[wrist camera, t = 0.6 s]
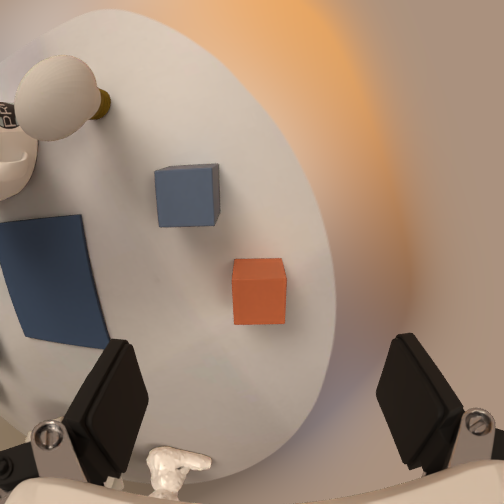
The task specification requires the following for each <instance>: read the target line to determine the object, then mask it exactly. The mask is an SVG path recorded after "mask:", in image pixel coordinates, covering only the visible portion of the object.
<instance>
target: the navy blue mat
mask: <svg viewBox="0 0 504 504" xmlns="http://www.w3.org/2000/svg"><path fill="white" fill-rule="evenodd" d="M0 264H1V268H2V271H3V275H4V278H5V282H6V285H7V288H8V291H9V294H10V297H11V300H12V303H13V306H14V309H15V311H16V314H17V317H18V319H19V322H20V324H21V327H22V329H23V332H24V334H25V336H26V337H30V338H35V339H41V340H46V341H51V342H57V343H63V344H69V345H76V346H83V347H90V348H98V349H105V348H106V346H107V345H108V343H109V341H110V338H109V335H108V332H107V328H106V325H105V322H104V318H103V315H102V311H101V307H100V304H99V300H98V296H97V292H96V288H95V284H94V279H93V275H92V271H91V266H90V261H89V256H88V251H87V246H86V240H85V235H84V229H83V222H82V216H81V215H69V216H58V217H48V218H38V219H29V220H20V221H12V222H4V223H0Z"/></svg>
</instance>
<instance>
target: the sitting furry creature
mask: <svg viewBox="0 0 504 504" xmlns="http://www.w3.org/2000/svg"><path fill="white" fill-rule="evenodd" d="M146 461H147V464H148V466H149V468H150V472H151V475H152V477H151V483H152V486H153V488H154V490H155V491H154V492H153V493H152V494H150V495H149V497H155V498H161V499H167V500H174V501H179V499H178V498H177V496H178V490H180V489H181V487H182V484H183V482H184V479H185V478H186V474H187V473H188V472H189V470H190V469H192V470H200V471H202V470H203V469H209V467H210V466H211V458H210V457H208V456H205V455H203V454H197V453H193V452H189V451H184V450H180V449H175V448H172V447H169V446H165V447H164V446H162V447H157V448H156V449H152V450H151V451H150V452H149V455H148V458H147V459H146Z"/></svg>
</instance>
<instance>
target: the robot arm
mask: <svg viewBox="0 0 504 504" xmlns="http://www.w3.org/2000/svg"><path fill="white" fill-rule="evenodd" d="M376 397H377V400H378V402H379V405H380V407H381V409H382V412H383V414H384V417H385V419H386V422H387V424H388V427H389V429H390V431H391V434H392V436H393V439H394V442H395V444H396V446H397V449H398V452H399V454H400V457H401V459H402V462H403V463H404V464H407V466H408V468H409V470H412V469H415V468H418V467H421V466H422V469H423V471H424V472H423V475H422V477H421V478H418V479H415V480H412V481H409V482H405V483H402V484H398V485H395V486H391V487H387V488H384V489H380V490H375V491H371V492H367V493H362V494H358V495H352V496H347V497H342V498H335V499H329V500H322V501H315V502H305V503H295V504H504V431H503V430H500V429H496V428H495V420H494V418H493V416H492V415H491V414H490V413H489V412H488V411H486V410H484V409H481V408H471V409H469V410H467V411H466V412H465V411H464V409H463V405H462V403H461V402H460V400H459V399H458V397H457V396H456V394H455V393H454V391H453V390H452V388H451V387H450V385H449V384H448V382H447V381H446V379H445V378H444V376H443V375H442V373H441V372H440V370H439V369H438V368H437V366H436V365H435V363H434V362H433V360H432V359H431V358H430V356H429V355H428V353H427V352H426V351H425V349H424V348H423V347H422V345H421V344H420V342H419V341H418V340H417V338H416V337H415V335H414V334H413V333H405V334H398V335H397V336H396V338H395V339H393V340H392V342H391V345H390V348H389V352H388V356H387V359H386V362H385V365H384V368H383V371H382V374H381V377H380V380H379V384H378V386H377V390H376ZM148 399H149V398H148V393H147V390H146V387H145V384H144V381H143V378H142V375H141V372H140V369H139V365H138V362H137V359H136V355H135V352H134V348H133V346H132V345H131V344H129V343H128V341H127V340H121V339H111V340H110V341H109V343H108V345H107V346H106V348H105V349H104V351H103V353H102V354H101V356H100V357H99V359H98V361H97V362H96V364H95V366H94V367H93V369H92V371H91V372H90V373H89V374H88V376H87V378H86V379H85V381H84V383H83V385H82V386H81V388H80V390H79V391H78V393H77V395H76V397H75V398H74V400H73V402H72V404H71V405H70V407H69V409H68V411H67V413H66V414H65V416H64V418H63V420H62V422H59V421H56V420H45V421H43V422H40V423H39V424H38V425H36V426H35V427H34V429H33V430H32V433H31V436H30V437H31V441H29V442H27V443H24V444H21V445H18V446H15V447H12V448H9V449H6V450H3V451H0V504H201V503H191V502H182V501H174V500H167V499H161V498H155V497H149V496H143V495H139V494H133V493H129V492H124V491H120V490H116V489H111V488H108V486H107V484H106V481H107V478H108V476H109V477H113V478H117V479H120V476H121V473H125V472H126V470H127V467H128V463H129V460H130V457H131V454H132V451H133V447H134V444H135V441H136V438H137V435H138V432H139V429H140V426H141V423H142V420H143V417H144V414H145V411H146V408H147V405H148Z"/></svg>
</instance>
